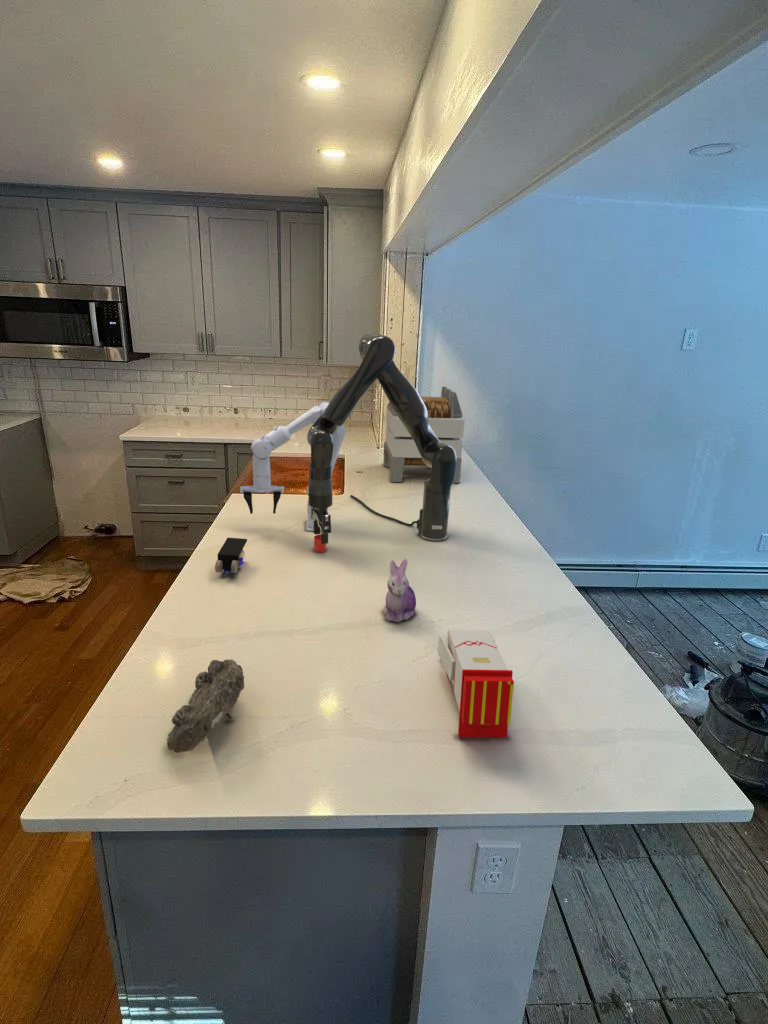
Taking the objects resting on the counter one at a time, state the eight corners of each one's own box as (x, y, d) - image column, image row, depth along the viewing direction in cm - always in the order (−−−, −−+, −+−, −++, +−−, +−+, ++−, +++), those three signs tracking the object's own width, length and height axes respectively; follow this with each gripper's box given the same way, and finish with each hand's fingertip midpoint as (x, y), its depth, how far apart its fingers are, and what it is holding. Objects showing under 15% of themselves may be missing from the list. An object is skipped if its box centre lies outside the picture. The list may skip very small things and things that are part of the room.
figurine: (392, 627, 141) (395, 572, 136) (374, 608, 149) (376, 556, 144) (425, 619, 145) (429, 566, 140) (405, 601, 154) (408, 550, 149)
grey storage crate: (382, 463, 289) (386, 382, 275) (445, 464, 293) (451, 384, 279) (390, 482, 257) (394, 392, 243) (460, 483, 261) (468, 394, 247)
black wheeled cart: (238, 584, 162) (249, 557, 175) (236, 562, 158) (247, 536, 172) (215, 584, 161) (227, 556, 175) (212, 561, 158) (225, 535, 171)
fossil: (192, 660, 117) (244, 628, 112) (224, 691, 120) (276, 661, 115) (142, 746, 98) (202, 712, 93) (182, 779, 101) (242, 748, 96)
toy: (488, 613, 130) (523, 677, 101) (484, 667, 133) (517, 744, 104) (435, 612, 130) (455, 676, 101) (432, 666, 133) (451, 743, 103)
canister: (317, 553, 181) (318, 540, 180) (311, 549, 184) (311, 536, 183) (328, 550, 184) (328, 537, 182) (321, 546, 186) (322, 533, 185)
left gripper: (238, 478, 185) (240, 517, 190) (283, 478, 187) (284, 516, 192) (240, 472, 192) (242, 509, 196) (283, 472, 194) (284, 509, 199)
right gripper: (303, 485, 182) (303, 532, 188) (314, 499, 170) (315, 548, 175) (325, 483, 185) (325, 529, 190) (338, 496, 172) (338, 545, 178)
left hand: (263, 512), depth 195 cm, fingers open, 7 cm apart
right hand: (320, 538), depth 183 cm, fingers open, 8 cm apart
